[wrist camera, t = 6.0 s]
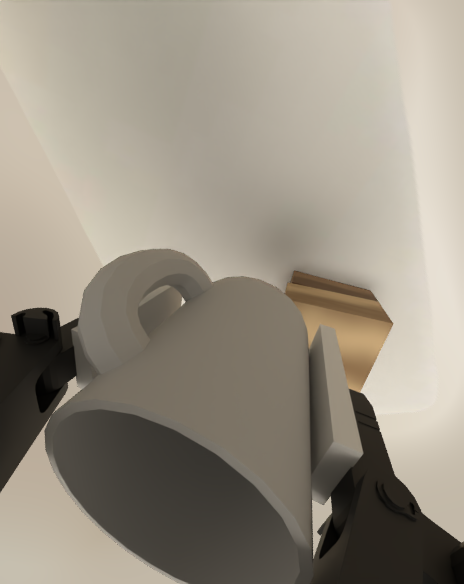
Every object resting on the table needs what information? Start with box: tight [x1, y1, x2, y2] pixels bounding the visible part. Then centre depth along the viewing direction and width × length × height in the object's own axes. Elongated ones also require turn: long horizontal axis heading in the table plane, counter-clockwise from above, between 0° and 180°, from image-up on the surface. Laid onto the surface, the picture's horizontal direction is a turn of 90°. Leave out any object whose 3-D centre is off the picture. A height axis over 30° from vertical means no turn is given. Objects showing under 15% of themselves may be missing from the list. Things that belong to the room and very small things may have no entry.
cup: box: [45, 249, 313, 584], centre depth 9 cm, size 7×10×9 cm
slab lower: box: [290, 271, 380, 304], centre depth 31 cm, size 12×10×5 cm
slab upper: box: [285, 283, 393, 393], centre depth 26 cm, size 12×10×5 cm
